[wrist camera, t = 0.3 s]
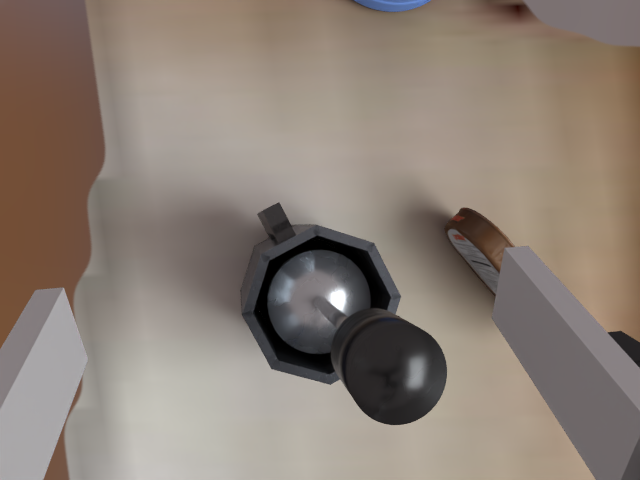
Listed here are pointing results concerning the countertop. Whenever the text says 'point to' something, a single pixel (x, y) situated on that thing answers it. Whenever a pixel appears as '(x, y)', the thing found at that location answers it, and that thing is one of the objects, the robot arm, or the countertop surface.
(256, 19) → the countertop surface
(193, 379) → the countertop surface
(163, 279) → the countertop surface
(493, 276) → the tin
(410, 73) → the countertop surface
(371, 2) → the water jug
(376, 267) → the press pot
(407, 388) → the plunger
